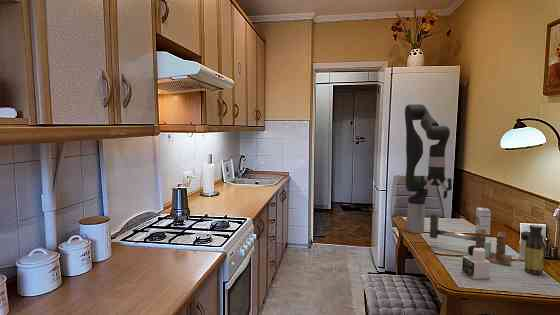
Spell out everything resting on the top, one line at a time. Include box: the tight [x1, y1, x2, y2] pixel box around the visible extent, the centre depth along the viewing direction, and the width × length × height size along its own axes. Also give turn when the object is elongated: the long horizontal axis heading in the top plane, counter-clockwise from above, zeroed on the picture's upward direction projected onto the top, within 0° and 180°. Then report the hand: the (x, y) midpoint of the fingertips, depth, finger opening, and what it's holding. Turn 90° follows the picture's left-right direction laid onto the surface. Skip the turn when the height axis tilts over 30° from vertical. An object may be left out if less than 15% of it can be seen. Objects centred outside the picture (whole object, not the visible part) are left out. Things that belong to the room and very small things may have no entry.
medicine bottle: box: [461, 244, 491, 280], centre depth 132 cm, size 7×7×12 cm
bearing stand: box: [475, 229, 512, 267], centre depth 150 cm, size 16×12×12 cm
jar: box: [519, 231, 544, 262], centre depth 148 cm, size 9×8×12 cm
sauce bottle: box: [524, 224, 545, 275], centre depth 134 cm, size 6×6×20 cm
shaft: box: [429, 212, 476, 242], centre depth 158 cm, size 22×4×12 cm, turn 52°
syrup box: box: [475, 207, 491, 236], centre depth 186 cm, size 6×6×14 cm
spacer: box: [484, 237, 492, 258], centre depth 151 cm, size 2×7×7 cm, turn 142°
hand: (435, 197), depth 163 cm, fingers open, 8 cm apart
